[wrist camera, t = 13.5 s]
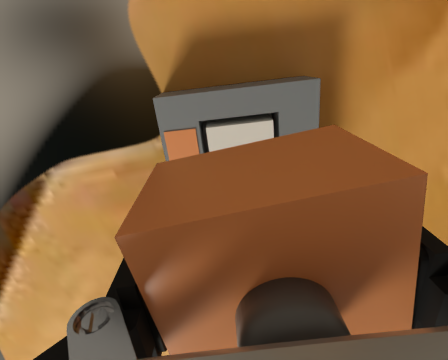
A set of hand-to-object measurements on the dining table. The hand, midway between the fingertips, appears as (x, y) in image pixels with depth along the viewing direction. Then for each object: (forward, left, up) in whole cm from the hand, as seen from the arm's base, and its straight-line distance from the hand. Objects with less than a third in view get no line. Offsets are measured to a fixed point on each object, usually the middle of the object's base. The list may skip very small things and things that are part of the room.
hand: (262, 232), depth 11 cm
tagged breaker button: (0, 0, -13) cm, 13 cm away
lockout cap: (0, 0, -1) cm, 1 cm away
